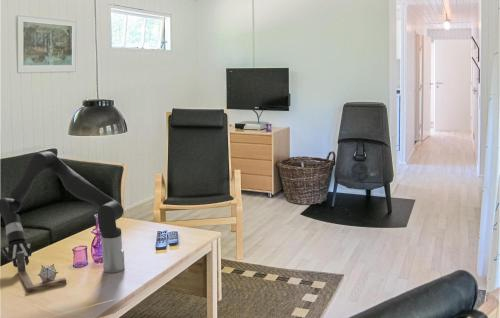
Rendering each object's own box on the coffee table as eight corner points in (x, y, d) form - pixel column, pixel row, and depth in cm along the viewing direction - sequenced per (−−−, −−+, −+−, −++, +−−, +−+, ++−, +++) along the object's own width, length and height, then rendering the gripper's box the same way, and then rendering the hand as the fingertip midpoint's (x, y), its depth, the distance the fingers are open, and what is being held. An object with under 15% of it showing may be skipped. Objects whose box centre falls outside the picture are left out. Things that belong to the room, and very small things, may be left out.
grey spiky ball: (51, 290, 222) (48, 279, 215) (34, 283, 223) (32, 272, 216) (63, 275, 228) (61, 264, 221) (47, 267, 229) (45, 256, 222)
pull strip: (53, 264, 242) (51, 245, 240) (66, 283, 220) (64, 262, 218) (17, 272, 233) (15, 251, 231) (28, 292, 211) (26, 270, 209)
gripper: (-1, 233, 231) (5, 265, 223) (31, 227, 239) (38, 258, 231) (-2, 240, 236) (4, 272, 229) (30, 234, 244) (37, 265, 236)
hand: (21, 265), depth 230 cm, fingers open, 4 cm apart
